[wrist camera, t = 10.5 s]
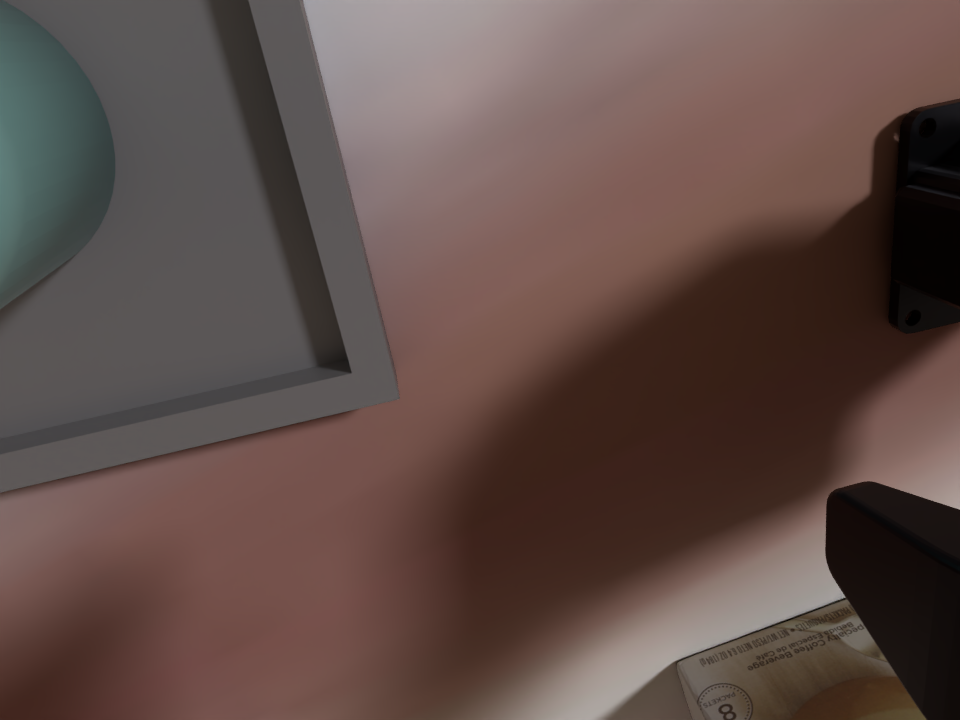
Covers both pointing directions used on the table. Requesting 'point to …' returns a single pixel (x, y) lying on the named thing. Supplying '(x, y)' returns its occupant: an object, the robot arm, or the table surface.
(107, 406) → the tray
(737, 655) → the coffee box
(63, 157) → the green rounded cylinder
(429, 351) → the table surface
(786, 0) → the table surface
